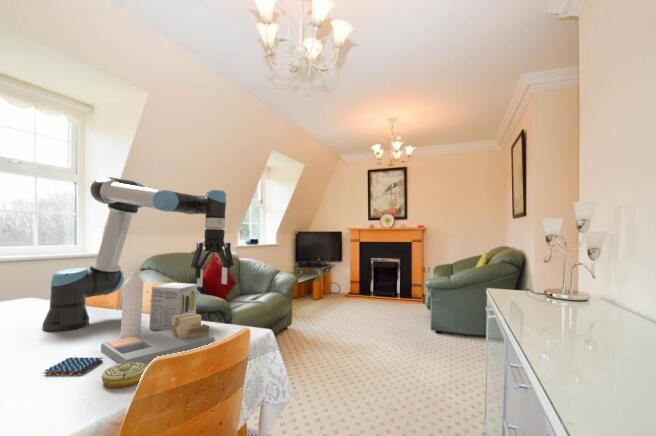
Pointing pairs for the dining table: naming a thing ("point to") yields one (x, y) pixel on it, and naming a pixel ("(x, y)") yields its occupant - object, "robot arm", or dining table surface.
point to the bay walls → (199, 332)
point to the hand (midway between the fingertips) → (212, 285)
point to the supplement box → (171, 303)
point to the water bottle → (132, 306)
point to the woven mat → (73, 366)
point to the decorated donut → (123, 374)
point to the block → (184, 324)
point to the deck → (150, 346)
